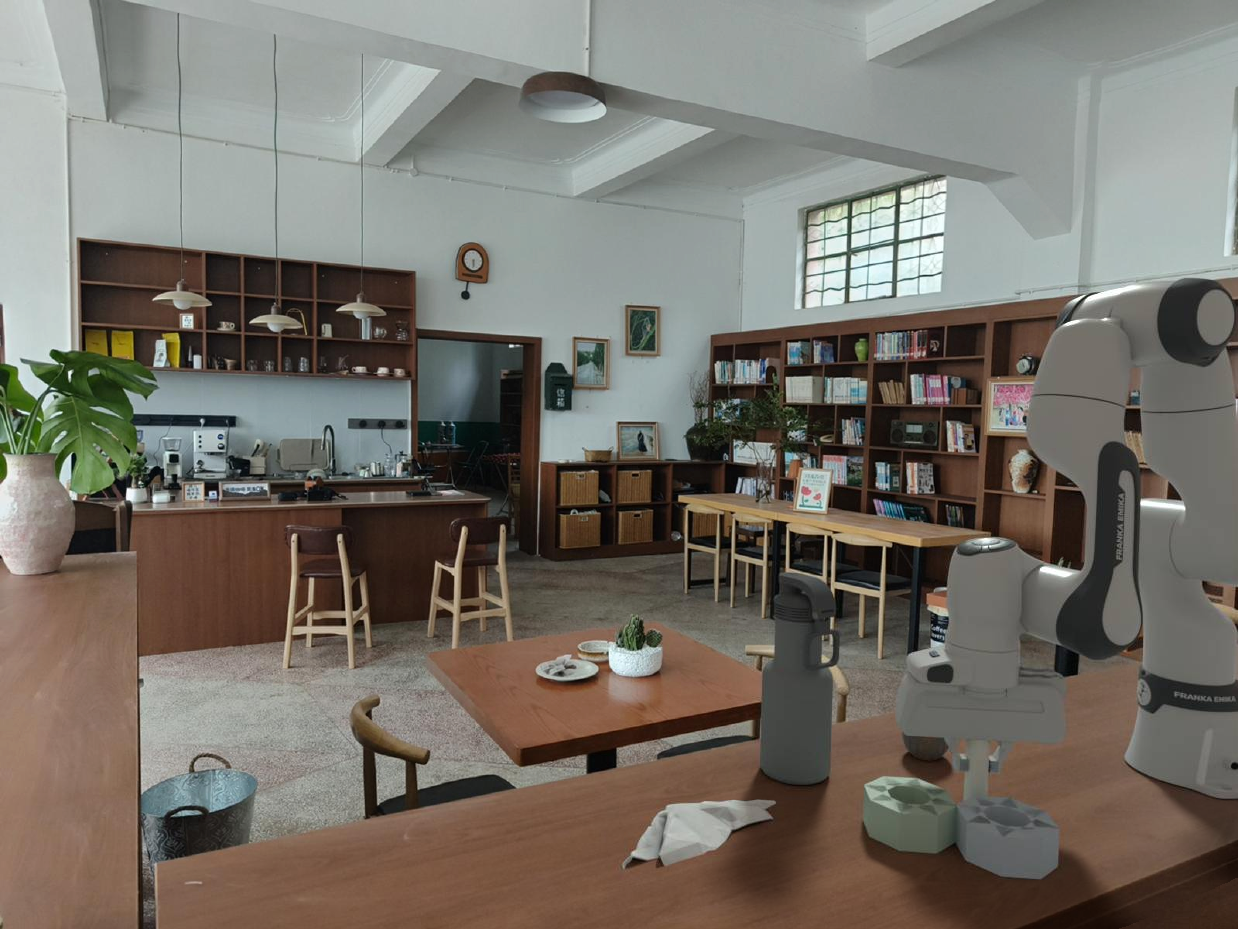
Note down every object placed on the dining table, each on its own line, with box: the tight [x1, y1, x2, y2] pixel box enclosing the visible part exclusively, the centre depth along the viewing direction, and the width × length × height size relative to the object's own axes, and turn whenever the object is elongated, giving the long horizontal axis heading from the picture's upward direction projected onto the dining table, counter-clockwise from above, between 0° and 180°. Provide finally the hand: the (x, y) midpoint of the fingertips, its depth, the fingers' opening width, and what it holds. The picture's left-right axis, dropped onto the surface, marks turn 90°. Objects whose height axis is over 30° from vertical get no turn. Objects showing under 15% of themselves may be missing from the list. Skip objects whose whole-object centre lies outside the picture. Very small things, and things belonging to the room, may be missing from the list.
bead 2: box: [954, 796, 1061, 880], centre depth 96 cm, size 10×10×4 cm
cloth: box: [621, 799, 777, 871], centre depth 101 cm, size 26×14×2 cm, turn 117°
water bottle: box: [759, 571, 841, 786], centre depth 116 cm, size 10×10×28 cm
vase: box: [901, 731, 949, 762], centre depth 124 cm, size 7×7×9 cm
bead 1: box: [862, 776, 958, 855], centre depth 101 cm, size 10×10×4 cm
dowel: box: [963, 739, 991, 801], centre depth 106 cm, size 3×3×12 cm
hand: (976, 771), depth 106 cm, fingers closed on dowel, 3 cm apart
